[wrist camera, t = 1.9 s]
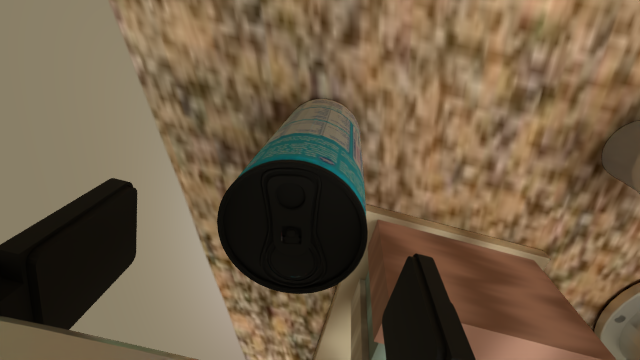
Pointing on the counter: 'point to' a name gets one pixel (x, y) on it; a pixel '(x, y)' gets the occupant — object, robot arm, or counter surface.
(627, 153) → the cup
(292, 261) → the beverage can
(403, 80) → the counter surface
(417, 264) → the robot arm
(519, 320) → the book rack
